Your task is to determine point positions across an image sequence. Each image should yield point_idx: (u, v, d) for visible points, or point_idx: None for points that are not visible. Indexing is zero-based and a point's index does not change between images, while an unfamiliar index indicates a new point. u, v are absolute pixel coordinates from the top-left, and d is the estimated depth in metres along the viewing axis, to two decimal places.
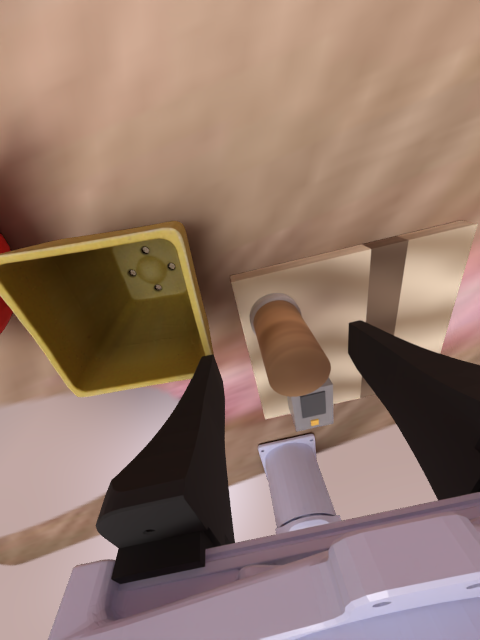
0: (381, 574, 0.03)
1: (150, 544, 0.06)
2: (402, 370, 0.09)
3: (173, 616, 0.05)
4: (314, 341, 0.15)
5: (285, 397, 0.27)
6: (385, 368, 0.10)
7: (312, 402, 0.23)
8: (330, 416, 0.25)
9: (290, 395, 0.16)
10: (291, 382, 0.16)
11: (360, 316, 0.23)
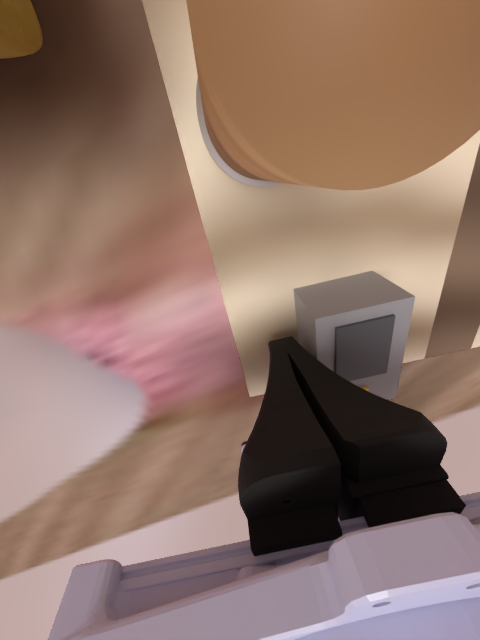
0: (381, 574, 0.03)
1: (283, 516, 0.06)
2: (307, 391, 0.09)
3: (173, 616, 0.05)
4: None
5: None
6: (301, 387, 0.10)
7: (362, 344, 0.10)
8: (392, 382, 0.12)
9: (324, 177, 0.03)
10: (338, 42, 0.02)
11: None
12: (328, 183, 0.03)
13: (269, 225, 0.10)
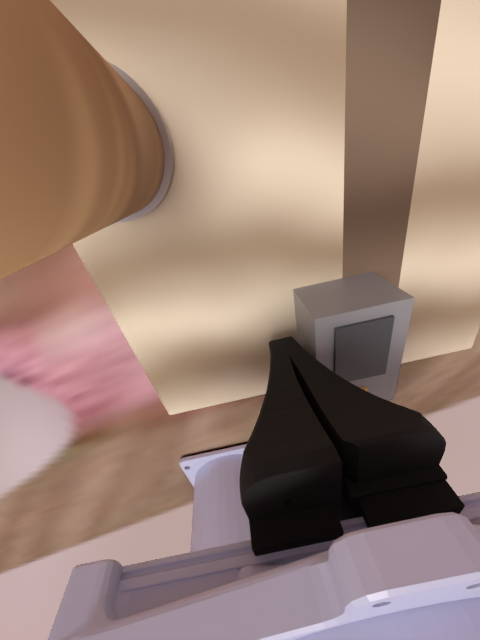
0: (381, 574, 0.03)
1: (284, 516, 0.06)
2: (307, 391, 0.09)
3: (173, 616, 0.05)
4: None
5: (197, 373, 0.14)
6: None
7: (361, 344, 0.10)
8: (390, 383, 0.12)
9: None
10: None
11: (330, 172, 0.10)
12: None
13: (147, 254, 0.11)
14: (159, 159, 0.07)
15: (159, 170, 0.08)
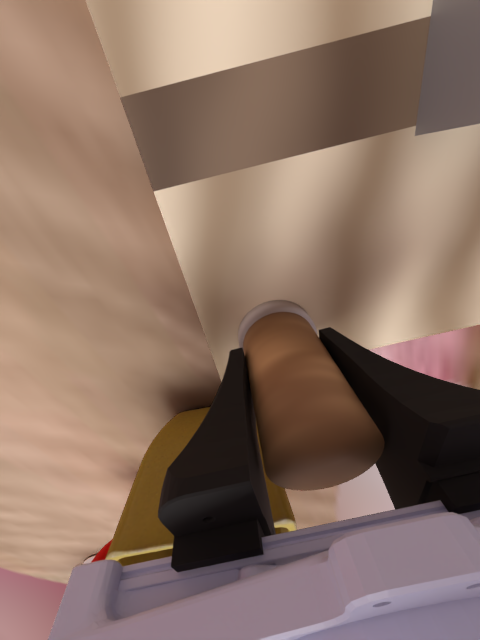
0: (381, 574, 0.03)
1: (207, 532, 0.06)
2: (361, 379, 0.09)
3: (173, 616, 0.05)
4: (270, 412, 0.08)
5: (458, 293, 0.14)
6: (348, 376, 0.10)
7: None
8: None
9: (374, 461, 0.08)
10: (341, 465, 0.08)
11: (302, 170, 0.10)
12: (376, 459, 0.08)
13: (336, 322, 0.14)
14: (291, 320, 0.12)
15: (296, 320, 0.12)
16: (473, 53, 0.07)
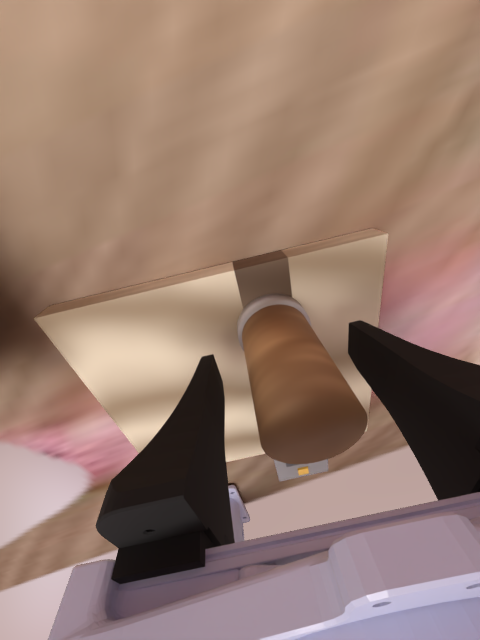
0: (381, 574, 0.03)
1: (150, 544, 0.06)
2: (402, 370, 0.09)
3: (173, 616, 0.05)
4: (267, 390, 0.09)
5: None
6: (385, 368, 0.10)
7: None
8: (324, 463, 0.19)
9: (358, 437, 0.09)
10: (328, 440, 0.09)
11: None
12: (360, 436, 0.09)
13: (139, 398, 0.17)
14: (289, 312, 0.13)
15: (293, 312, 0.13)
16: None
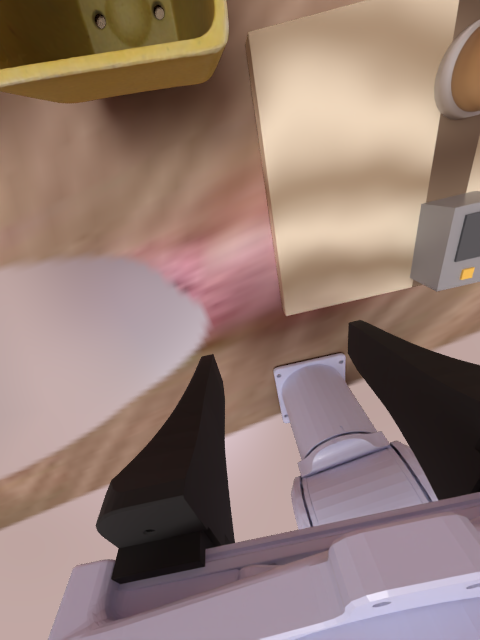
0: (381, 574, 0.03)
1: (150, 544, 0.06)
2: (402, 370, 0.09)
3: (173, 616, 0.05)
4: None
5: (314, 278, 0.21)
6: (385, 368, 0.10)
7: (479, 228, 0.16)
8: None
9: None
10: None
11: (430, 126, 0.16)
12: None
13: (308, 181, 0.17)
14: None
15: None
16: (470, 200, 0.16)
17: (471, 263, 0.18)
